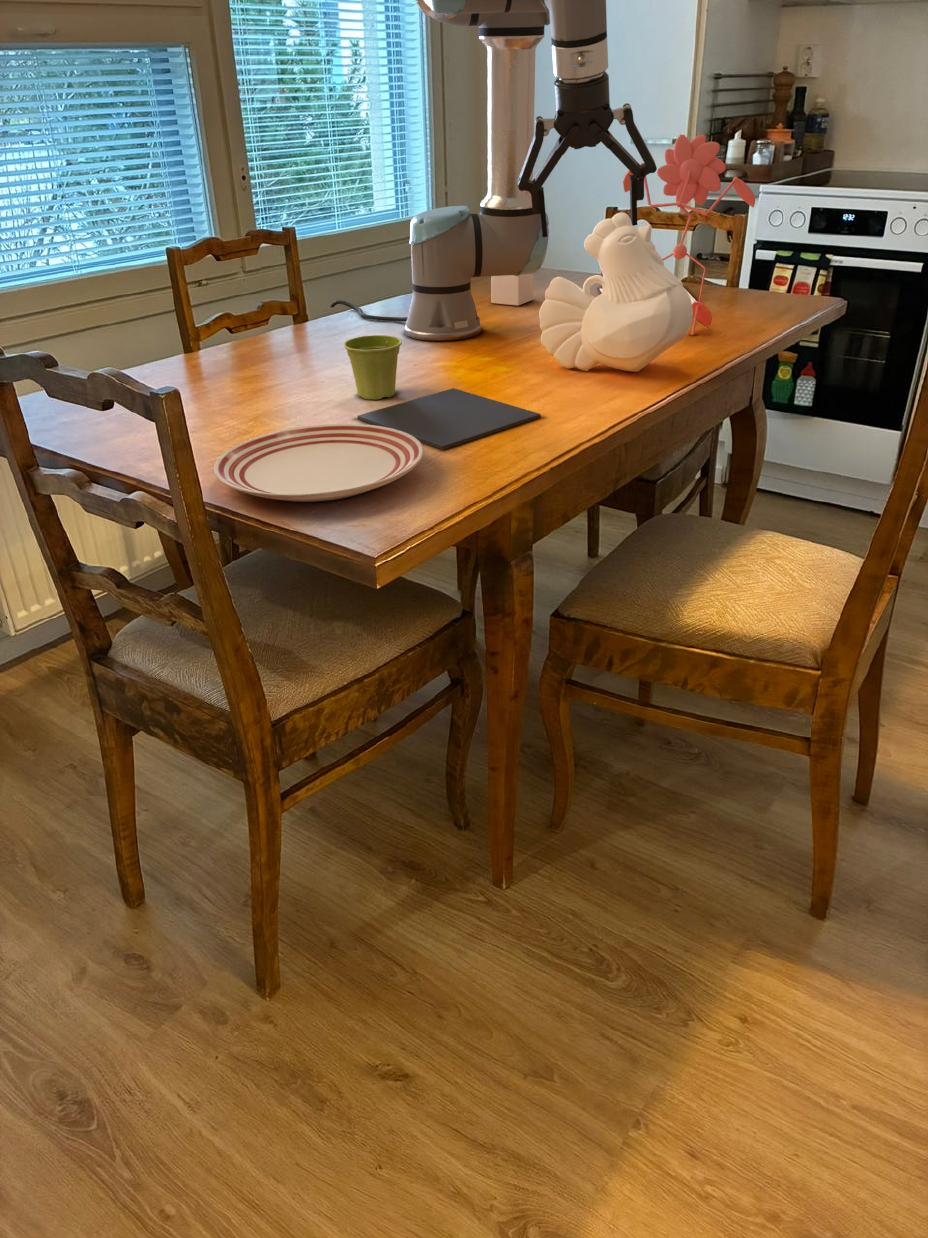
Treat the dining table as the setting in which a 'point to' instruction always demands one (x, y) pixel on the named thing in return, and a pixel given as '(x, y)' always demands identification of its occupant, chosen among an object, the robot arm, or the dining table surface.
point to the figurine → (693, 192)
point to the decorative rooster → (616, 304)
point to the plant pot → (374, 364)
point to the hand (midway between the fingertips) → (589, 227)
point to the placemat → (449, 417)
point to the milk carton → (512, 289)
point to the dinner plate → (319, 462)
